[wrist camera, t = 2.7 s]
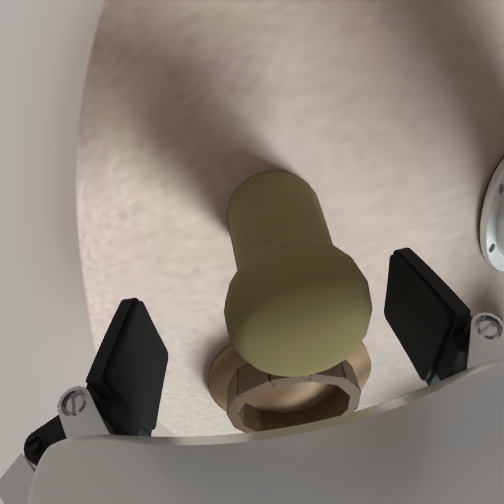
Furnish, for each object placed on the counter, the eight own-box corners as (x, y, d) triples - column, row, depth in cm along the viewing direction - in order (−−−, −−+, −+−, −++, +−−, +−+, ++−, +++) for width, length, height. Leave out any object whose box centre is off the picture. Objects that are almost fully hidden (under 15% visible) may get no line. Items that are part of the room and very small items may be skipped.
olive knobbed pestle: (312, 261, 20) (361, 393, 10) (224, 255, 19) (209, 396, 9) (328, 176, 17) (425, 266, 7) (230, 166, 16) (206, 252, 7)
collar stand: (397, 338, 24) (413, 368, 20) (319, 421, 31) (323, 447, 27) (239, 301, 21) (238, 338, 17) (194, 404, 28) (190, 434, 24)
